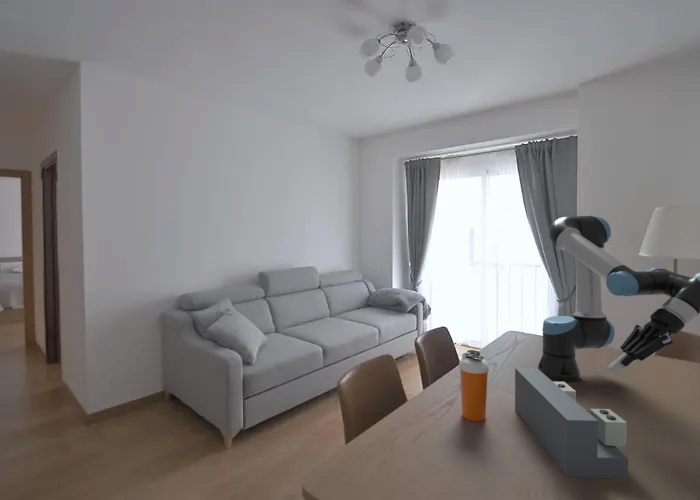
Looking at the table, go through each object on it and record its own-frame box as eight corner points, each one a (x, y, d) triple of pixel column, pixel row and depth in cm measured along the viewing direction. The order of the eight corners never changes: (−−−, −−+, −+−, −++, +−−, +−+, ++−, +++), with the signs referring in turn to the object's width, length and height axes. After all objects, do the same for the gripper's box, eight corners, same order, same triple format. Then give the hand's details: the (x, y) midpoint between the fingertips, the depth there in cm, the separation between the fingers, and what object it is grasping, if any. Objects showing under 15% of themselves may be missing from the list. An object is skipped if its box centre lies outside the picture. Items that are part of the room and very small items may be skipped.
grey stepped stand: (558, 410, 122) (559, 368, 122) (627, 478, 89) (629, 421, 88) (515, 409, 123) (515, 367, 123) (566, 476, 90) (567, 420, 89)
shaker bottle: (474, 426, 113) (474, 361, 112) (453, 413, 121) (453, 353, 120) (494, 418, 118) (494, 356, 117) (473, 407, 125) (473, 348, 124)
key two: (608, 431, 100) (609, 408, 99) (626, 446, 93) (626, 421, 92) (589, 430, 100) (589, 407, 100) (605, 445, 93) (605, 420, 93)
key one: (564, 400, 118) (564, 380, 117) (575, 411, 111) (575, 390, 110) (547, 400, 118) (547, 380, 118) (558, 410, 111) (558, 390, 111)
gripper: (700, 331, 104) (635, 388, 106) (665, 319, 117) (608, 371, 119) (680, 312, 104) (616, 369, 106) (647, 303, 117) (590, 354, 119)
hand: (612, 370), depth 113 cm, fingers closed
